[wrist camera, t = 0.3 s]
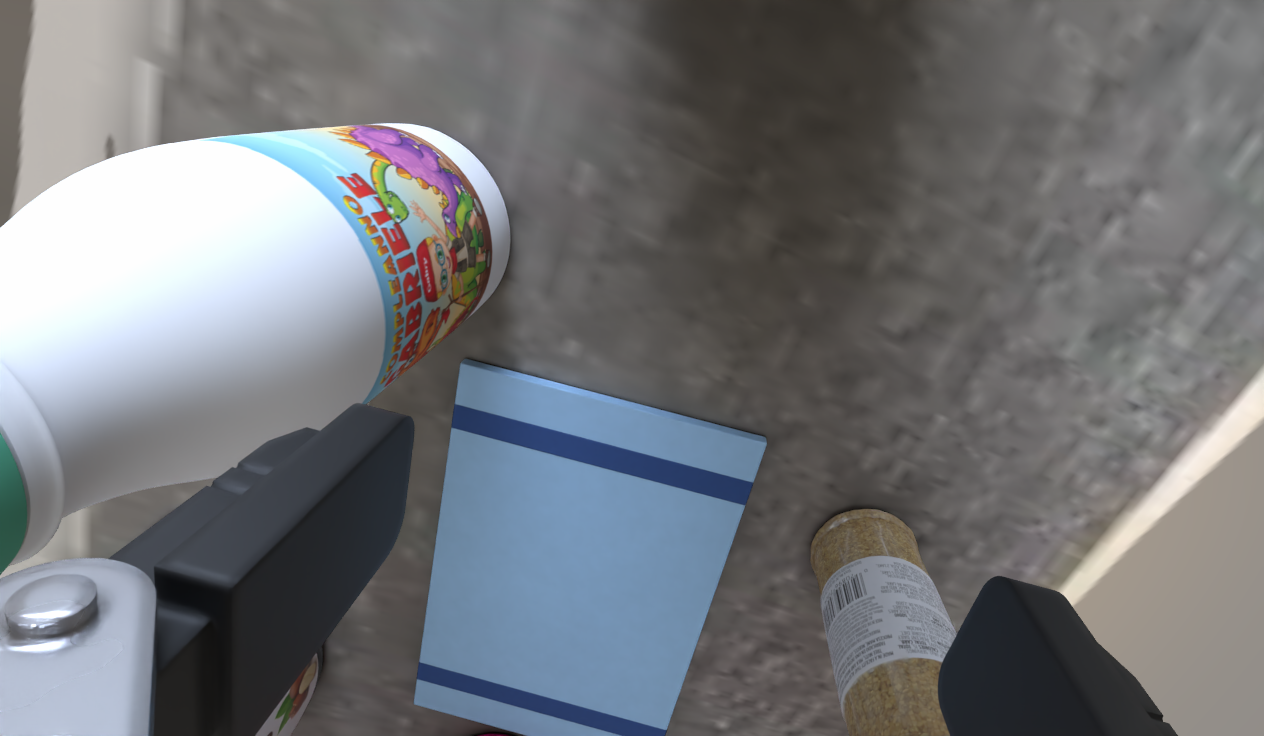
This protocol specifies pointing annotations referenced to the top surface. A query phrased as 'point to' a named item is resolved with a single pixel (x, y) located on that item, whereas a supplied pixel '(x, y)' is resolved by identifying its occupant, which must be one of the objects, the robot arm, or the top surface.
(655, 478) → the towel
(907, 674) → the sprinkles bottle
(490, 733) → the pepper mill
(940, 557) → the top surface
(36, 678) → the robot arm
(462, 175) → the milk bottle
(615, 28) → the top surface
